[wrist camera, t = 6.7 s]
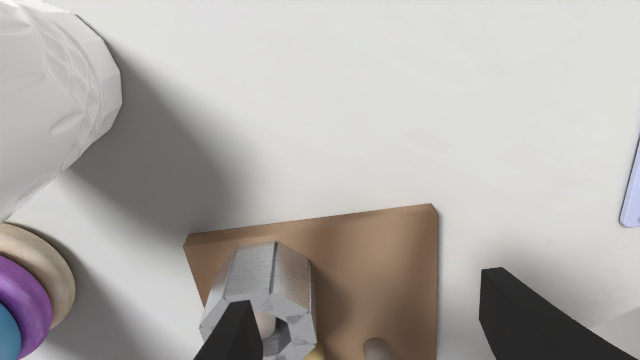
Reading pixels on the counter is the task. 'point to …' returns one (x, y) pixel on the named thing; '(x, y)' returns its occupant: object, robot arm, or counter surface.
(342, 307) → the board
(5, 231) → the stacking toy
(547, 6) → the counter surface
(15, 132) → the white cup
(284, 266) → the gear ring
